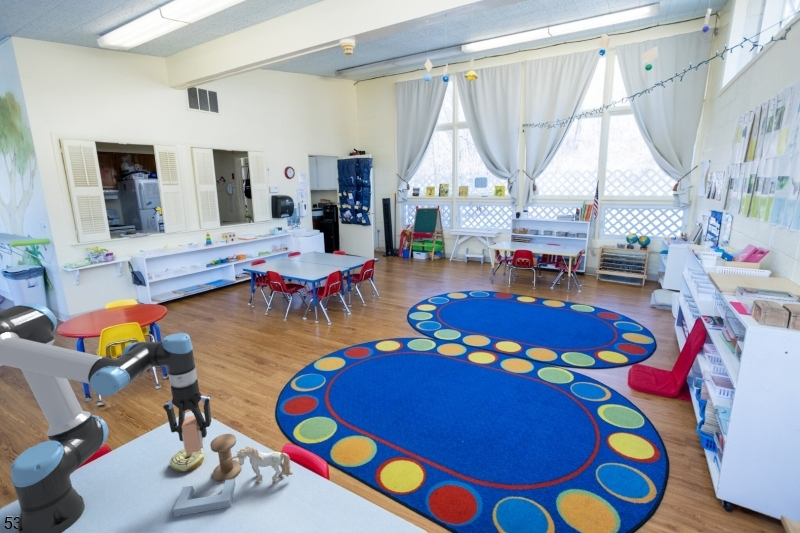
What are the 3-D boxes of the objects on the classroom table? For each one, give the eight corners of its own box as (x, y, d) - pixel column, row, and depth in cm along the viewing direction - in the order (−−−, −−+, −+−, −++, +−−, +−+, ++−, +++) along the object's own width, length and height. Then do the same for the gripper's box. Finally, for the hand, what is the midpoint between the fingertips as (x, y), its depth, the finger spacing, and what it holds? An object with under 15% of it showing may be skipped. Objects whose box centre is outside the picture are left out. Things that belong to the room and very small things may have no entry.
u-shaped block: (174, 516, 120) (173, 509, 119) (183, 493, 128) (182, 487, 128) (230, 506, 123) (229, 500, 122) (235, 485, 131) (234, 478, 131)
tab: (186, 453, 125) (181, 426, 123) (190, 443, 130) (186, 416, 128) (200, 451, 126) (195, 424, 124) (203, 441, 131) (199, 414, 129)
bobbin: (210, 483, 132) (205, 452, 129) (216, 465, 141) (212, 434, 138) (238, 479, 134) (234, 447, 131) (243, 461, 142) (239, 431, 140)
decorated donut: (185, 478, 135) (183, 468, 134) (164, 469, 140) (163, 460, 139) (210, 458, 144) (209, 449, 144) (190, 450, 149) (189, 441, 148)
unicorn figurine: (234, 479, 134) (229, 445, 131) (292, 465, 140) (289, 433, 137) (232, 494, 127) (227, 459, 124) (293, 480, 133) (290, 446, 130)
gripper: (149, 392, 117) (162, 459, 123) (210, 384, 121) (220, 449, 126) (158, 380, 124) (170, 444, 130) (215, 372, 128) (225, 435, 133)
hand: (195, 446), depth 128 cm, fingers closed on tab, 4 cm apart
